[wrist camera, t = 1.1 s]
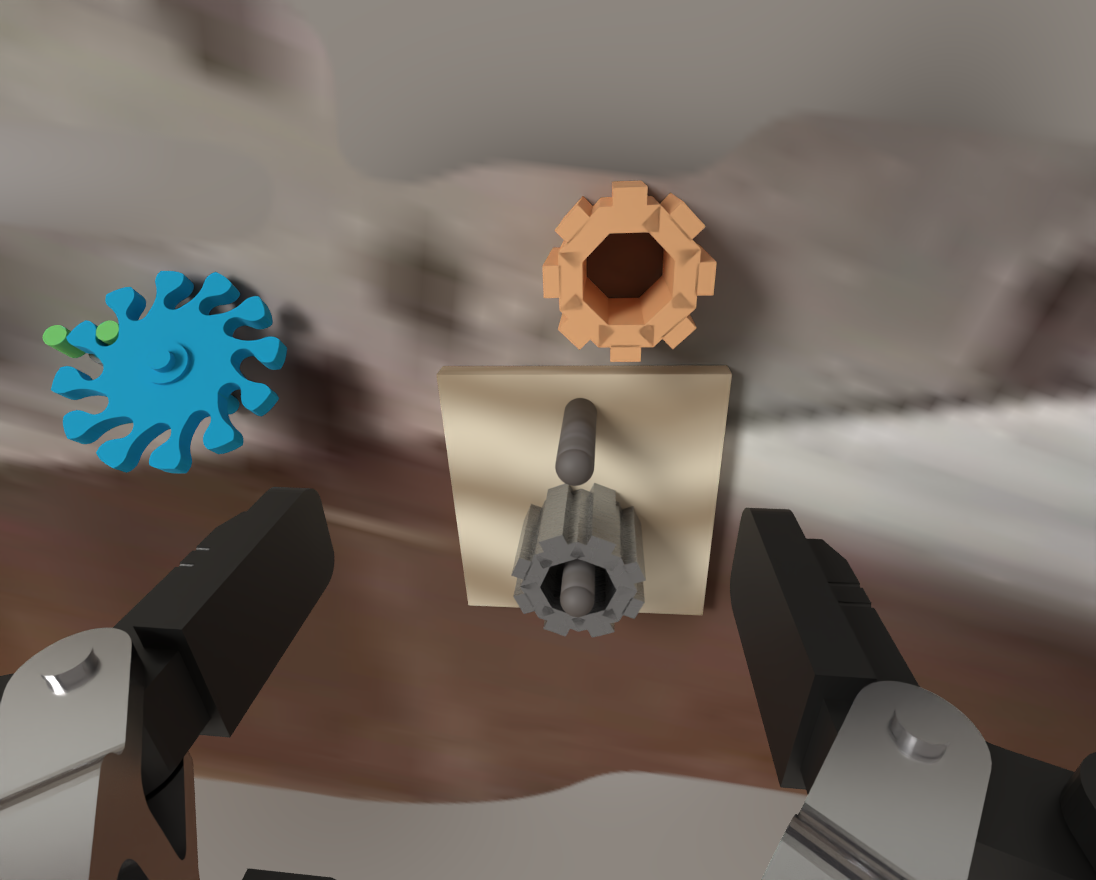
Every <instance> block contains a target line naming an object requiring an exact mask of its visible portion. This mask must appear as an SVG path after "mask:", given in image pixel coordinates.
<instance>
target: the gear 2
mask: <svg viewBox="0 0 1096 880" xmlns="http://www.w3.org/2000/svg"><path fill="white" fill-rule="evenodd" d="M574 559H580V560H583V561H586V562H588V563H591V564H594V565H595V596H594V605H593V608H592V609H591V611H590V612H589V613H588V614H587V615H585V616H582V617H573V616H570V615H568V614H567V613H566V612H565V611H564V610H563V608H562V606H561V603H560V595H561V586H562V576H563V567H564V562H568V561H571V560H574ZM511 576H514V577H517V581H516V586H515V591H514V595H513V597H514V599H515V600H516V602H517V604H518V605H519V607H520V608H521V610H522V612H523V613H524V614H525V613H529V612H532V611H535V612H536V614H537V616H538V617H539V618H541V619H544V620H545V621H544V628H543V629H546V630H549V631H552V632H555V633H557V634H560V635H563V636H566V635H567V633H568V631H569V629H573V630H576V631H583V630H587V629H588V631H589V633H590V635H591V636H592V637H596V636H600V635H604V634H608V633H612V632H614V622H618V621H619V620H620V619H621V617H622V615H625V616H628V617H631V618H634V619H635V617H636V615H637V614H638V612H639V611H640V609H641V607H642V606H643V604H644V603H645V598H644V586H643V581H646V576H645V564H644V553H643V541H642V530H641V522H640V520H639V518H638V516H637V514H636V511H635V509H634V507H633V506H632V507H628V508H625V509H622V507H621V505H620V503H619V502H617V501H616V494H615V490H613V489H610V488H607V487H605V486H602V485H599V484H597V483H594V484H593V486H592V488H591V490H590V491H587V490H584V489H582V488H581V489H578V490H575V491H573V490H572V488H571V486H570V485H568V484H562V485H559V486H556V487H553V488H550V489H548V492H547V498H546V500H545V501H544V503H543V505H542V507H539V506H536V505H534V504H531V505H530V507H529V510H528V512H527V514H526V517H525V519H524V522H523V527H522V531H521V535H520V540H519V544H518V548H517V553H516V557H515V561H514V566H513V570H512V574H511Z"/></svg>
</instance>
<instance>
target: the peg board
mask: <svg viewBox="0 0 1096 880" xmlns="http://www.w3.org/2000/svg"><path fill="white" fill-rule="evenodd" d="M731 378H732V374H731V372H730V370H729V368H728V366H727V365H715V366H443V367H442V368H441V370H440V371H439V372H438V373H437V382H438V389H439V397H440V404H441V411H442V418H443V425H444V432H445V440H446V447H447V454H448V461H449V468H450V475H451V483H452V490H453V497H454V504H455V511H456V518H457V526H458V533H459V540H460V547H461V554H462V561H463V569H464V576H465V583H466V590H467V597H468V604H469V605H476V606H500V607H519V605H518V604H517V602H516V600H515V599H514V597H513V595H514V591H515V586H516V581H517V577H514V576H511V574H512V570H513V566H514V561H515V557H516V553H517V548H518V544H519V540H520V535H521V531H522V527H523V522H524V519H525V517H526V514H527V512H528V510H529V507H530V505H531V504H534V505H536V506H539V507H542V505H543V503H544V501H545V500H546V498H547V492H548V489H550V488H553V487H556V486H559V485H562V484H568V485H570V486H571V488H572V490H573V491H575V490H578V489H581V488H582V489H584V490H587V491H590V490H591V488H592V486H593V484H594V483H597V484H599V485H602V486H605V487H607V488H610V489H613V490H615V494H616V501H617V502H619V503H620V505H621V507H622V509H625V508H628V507H632V506H633V507H634V509H635V511H636V514H637V516H638V518H639V520H640V522H641V530H642V541H643V553H644V564H645V576H646V581H643V586H644V598H645V603H644V604H643V606H642V607H641V609H640V611H639V613H662V614H686V615H703V607H704V598H705V590H706V582H707V574H708V566H709V558H710V549H711V541H712V533H713V525H714V517H715V508H716V500H717V492H718V484H719V476H720V468H721V459H722V451H723V443H724V435H725V427H726V419H727V410H728V402H729V394H730V386H731ZM594 596H595V565H594V564H591V563H588V562H586V561H583V560H580V559H574V560H571V561H568V562H564V567H563V576H562V586H561V595H560V603H561V606H562V608H563V610H564V611H565V612H566V613H567V614H568V615H570V616H573V617H582V616H585V615H587V614H588V613H589V612H590V611H591V609H592V608H593V605H594Z"/></svg>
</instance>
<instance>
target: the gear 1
mask: <svg viewBox="0 0 1096 880" xmlns="http://www.w3.org/2000/svg"><path fill="white" fill-rule="evenodd" d="M647 191H648V187H647V186H646V185H645V184H644V183H643V182H642V181H617V182H612V197H602V198H600V199H599V200H598V201H597V202H596V204H595V205H594V206H592V205H591V204H590V203H589V202H588V201H587V200H586V199H585V197H584V196H582V197H581V199H580V200H579V201H578V202H577V203H576V204H575V205H574V207H573V208H572V209H571V210H570V211H569V212H568V213H567V215H566V216H565V217H564V218H563V219H562V221H561V222H560V224H559V225H558V227H557V228H556V230H555V231H556V232H557V233H558V234H559V235H560V236H561V237H562V238H563V239H564V241H563V243H562V245H561V247H560V248H553V249H552V251H551V252H550V254H549V256H548V257H547V259H546V261H545V263H544V264H543V290H544V298H559V306H560V311H561V312H562V317H561V320H560V324H559V327H558V330H559V331H560V332H561V333H562V334H563V335H564V336H565V337H566V338H568V339H569V340H570V341H571V342H572V343H573V344H574V345H575V346H576V347H577V348H578V349H579V350H580V349H581V348H582V347H583V346H584V345H585V344H586V343H587V342H588V341H589V340H591V341H592V342H593V343H595V344H596V345H597V346H598V347H599V348H600V347H610V362H641V347H654V346H655V345H656V344H657V343H658V342H659V341H661V340H662V339H663V340H664V341H665V342H666V343H667V344H668V345H669V346H670V347H671V348H672V349H674V348H675V347H676V346H677V345H678V344H679V343H680V342H682V341H683V340H684V339H685V338H686V337H687V336H688V335H689V334H691V333H692V332H693V331H694V330H695V329H696V326H695V324H694V322H693V320H692V318H691V316H690V313H691V312H692V311H693V310H695V309H696V301H697V296H706V295H713V294H714V284H715V274H716V263H717V262H716V261H715V260H714V259H713V258H712V257H711V256H710V255H709V254H708V253H707V252H706V251H705V250H704V249H703V248H702V247H701V246H700V245H699V244H696V243H695V242H694V241H693V240H692V239H693V238H694V237H695V236H696V235H697V234H698V233H699V232H700V231H701V230H702V229H703V228H704V227H705V225H704V224H703V223H702V222H701V221H700V220H699V219H698V217H697V216H696V215H695V214H694V213H693V212H692V211H691V210H690V209H689V207H688V206H687V205H686V204H685V203H684V202H683V201H682V200H680V199H679V198H677V197H676V196H674V195H673V194H671V193H670V194H669V195H668V196H667V197H666V198H665V199H664V200H663V201H662V202H661V203H660V204H659V203H658V202H657V201H656V199H655V198H654V197H653V196H647ZM640 232H649V233H650V234H651V235H652V236H653V237H654V238H655V239H656V241H657V242H658V243H659V244H660V245H661V246H662V247H663V248H664V254H663V272H662V276H661V277H660V278H659V279H658V280H657V281H656V282H655V283H654V284H653V285H652V286H651V287H650V288H649V289H648V290H647V291H646V292H645V293H644V294H643V295H641V296H640V297H639V298H608V297H607V296H606V295H605V294H604V293H603V292H602V291H601V290H600V289H599V288H598V287H597V286H596V285H595V284H594V283H593V282H592V281H591V280H590V279H589V278H588V277H587V257H588V256H589V255H590V254H591V253H592V251H593V250H594V249H595V248H596V247H597V246H598V245H599V244H600V243H601V242H602V241H603V240H604V239H605V238H606V237H607V235H608V234H609V233H640Z"/></svg>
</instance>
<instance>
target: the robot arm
mask: <svg viewBox="0 0 1096 880" xmlns="http://www.w3.org/2000/svg"><path fill="white" fill-rule="evenodd" d="M333 568H334V551H333V547H332V543H331V539H330V535H329V531H328V527H327V523H326V519H325V515H324V511H323V507H322V503H321V499H320V496H319V494H318V493H317V491H316V490H314V489H309V488H285V487H273V488H271V489H269V490H268V491H267V492H266V493H265V494H264V495H263V496H262V497H261V498H260V499H259V500H258V501H257V502H256V503H255V504H254V505H253V506H252V507H251V508H250V509H249V510H248V511H247V512H242V513H240V514H239V515H237V516H235V517H233V518H232V519H230V520H228V521H227V522H225V523H223V524H221V525H220V526H218V527H216V528H215V529H214V530H213V531H212V532H211V533H210V534H209V535H208V536H207V537H206V538H205V539H204V540H203V541H202V542H201V543H200V544H199V545H198V546H197V549H196V551H192V552H191V553H189V554H188V555H187V556H186V557H185V558H184V559H183V560H182V561H181V562H180V566H179V567H175V568H174V569H173V570H172V571H171V572H170V573H169V574H168V575H167V576H166V577H165V578H164V579H163V580H162V581H161V582H160V583H159V584H157V585H156V586H155V587H154V588H153V589H152V590H151V591H150V592H149V593H148V594H147V595H146V596H145V597H144V598H143V599H142V600H141V601H140V602H139V603H138V604H137V605H136V606H135V607H134V608H133V609H132V610H131V611H130V612H129V613H128V614H127V615H125V616H124V617H123V618H122V619H121V620H120V621H119V622H118V623H117V624H116V625H115V626H114V627H113V628H98V629H92V630H87V631H84V632H80V633H77V634H74V635H72V636H69V637H66V638H64V639H62V640H60V641H58V642H56V643H54V644H52V645H50V646H48V647H47V648H45V649H43V650H42V651H40V652H39V653H37V654H36V655H34V656H33V657H32V658H30V659H29V660H28V661H27V662H26V663H24V664H23V665H22V666H21V667H20V668H19V669H18V670H17V671H16V672H15V673H14V674H9V675H3V676H0V880H200V878H199V871H198V855H197V853H198V852H197V832H196V812H195V790H194V769H193V760H192V757H191V755H190V753H189V751H188V750H189V749H190V748H191V746H192V745H193V743H194V742H195V740H196V739H197V737H198V736H199V735H209V736H220V737H231V735H232V734H233V732H234V730H235V729H236V727H237V726H238V724H239V723H240V721H241V720H242V718H243V716H244V715H245V713H246V712H247V710H248V709H249V707H250V705H251V704H252V702H253V701H254V699H255V698H256V696H257V695H258V693H259V691H260V690H261V688H262V687H263V685H264V684H265V682H266V681H267V679H268V677H269V676H270V674H271V673H272V671H273V670H274V668H275V667H276V665H277V663H278V662H279V660H280V659H281V657H282V656H283V654H284V652H285V651H286V649H287V648H288V646H289V645H290V643H291V642H292V640H293V638H294V637H295V635H296V634H297V632H298V631H299V629H300V628H301V626H302V624H303V623H304V621H305V620H306V618H307V617H308V615H309V613H310V612H311V610H312V609H313V607H314V606H315V604H316V603H317V601H318V599H319V598H320V596H321V595H322V593H323V592H324V590H325V589H326V587H327V585H328V584H329V582H330V579H331V576H332V573H333ZM730 595H731V604H732V609H733V613H734V617H735V620H736V624H737V628H738V632H739V635H740V639H741V643H742V646H743V650H744V654H745V658H746V661H747V665H748V669H749V672H750V676H751V680H752V684H753V687H754V691H755V695H756V698H757V702H758V706H759V709H760V713H761V717H762V721H763V724H764V728H765V732H766V735H767V739H768V743H769V747H770V750H771V754H772V758H773V761H774V765H775V769H776V772H777V776H778V780H779V784H780V787H783V788H795V789H806V790H807V794H808V796H807V798H806V800H805V802H804V804H803V806H802V808H801V810H800V812H799V814H798V815H797V814H795V816H794V817H793V818H792V820H791V822H790V824H789V825H788V827H787V829H786V831H785V833H784V835H783V837H782V839H781V841H780V843H779V845H778V847H777V849H776V851H775V853H774V855H773V857H772V859H771V861H770V863H769V865H768V867H767V869H766V871H765V873H764V875H763V877H762V879H761V880H1096V752H1095V753H1092V754H1090V755H1088V756H1087V757H1086V758H1085V759H1084V760H1083V761H1082V763H1081V764H1080V766H1079V767H1078V768H1077V770H1076V771H1075V772H1073V771H1070V770H1067V769H1064V768H1061V767H1058V766H1055V765H1052V764H1048V763H1045V762H1042V761H1039V760H1036V759H1033V758H1030V757H1027V756H1024V755H1021V754H1018V753H1015V752H1012V751H1009V750H1006V749H1004V748H1001V747H998V746H996V745H993V744H991V743H988V742H986V741H985V740H984V738H983V737H982V735H981V733H980V732H979V731H978V729H977V728H976V727H975V726H974V724H973V723H972V722H971V721H970V720H969V719H968V718H967V717H966V716H965V715H964V714H963V713H962V712H960V711H959V710H958V709H957V708H956V707H954V706H953V705H952V704H950V703H949V702H947V701H946V700H944V699H943V698H941V697H939V696H937V695H936V694H934V693H932V692H930V691H927V690H925V689H923V688H920V686H919V685H918V683H917V681H916V680H915V678H914V676H913V674H912V673H911V671H910V669H909V668H908V666H907V664H906V662H905V661H904V659H903V657H902V655H901V654H900V652H899V650H898V649H897V647H896V645H895V643H894V642H893V640H892V638H891V636H890V635H889V633H888V631H887V629H886V628H885V626H884V624H883V623H882V621H881V619H880V617H879V616H878V614H877V612H876V610H875V609H874V608H871V602H870V600H869V598H868V597H867V595H866V593H865V591H864V590H863V588H860V583H859V581H858V579H857V578H856V576H855V574H854V572H853V571H852V569H851V567H850V566H849V564H848V562H847V560H846V559H845V558H843V557H842V556H841V555H840V554H839V553H838V552H836V551H835V550H834V549H833V548H832V547H831V546H829V545H828V544H827V543H826V542H825V541H823V540H822V539H806V538H805V536H804V534H803V532H802V530H801V528H800V526H799V524H798V522H797V520H796V518H795V516H794V514H793V513H792V511H791V510H789V509H764V508H745V509H744V511H743V513H742V517H741V521H740V527H739V532H738V538H737V543H736V549H735V554H734V560H733V566H732V571H731V579H730ZM242 880H335V879H333V878H331V877H321V876H312V875H303V874H294V873H285V872H275V871H266V870H257V869H247V871H246V873H245V875H244V877H243V879H242Z"/></svg>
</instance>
